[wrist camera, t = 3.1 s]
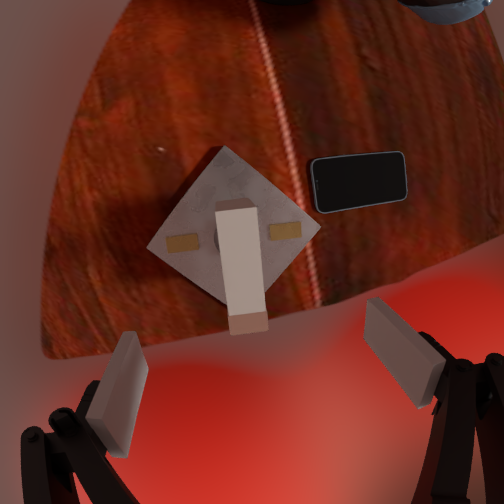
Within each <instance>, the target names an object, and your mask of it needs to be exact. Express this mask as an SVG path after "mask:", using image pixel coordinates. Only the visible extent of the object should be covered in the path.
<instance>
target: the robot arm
mask: <svg viewBox="0 0 504 504" xmlns="http://www.w3.org/2000/svg"><path fill="white" fill-rule="evenodd" d="M260 1H264V2H267V3H272V4H278V5H298V4H304V3H308V2H310V1H313V0H260ZM397 1H398V2H399V3H400V4H402V5H403V6H405V7H408V8H409V9H411V10H412V11H413V12H415V13H416V14H417V15H419V16H420V17H421V18H422V19H424V20H426V21H428V22H430V23H435V24H439V25H447V24H454V23H458V22H462V21H464V20H467V19H469V18H472V17H474V16H476V15H477V14H479V13H480V12H482V11H483V10H484V7H485V6H488V5H490V4H491V2H492V1H493V0H397ZM364 340H365V341H366V342H367V344H368V345H369V346H370V347H371V349H372V350H373V351H374V353H375V354H376V355H377V356H378V358H379V359H380V360H381V361H382V363H383V364H384V365H385V367H386V368H387V369H388V371H389V372H390V373H391V374H392V376H393V377H394V378H395V380H396V381H397V382H398V384H399V385H400V386H401V387H402V389H403V390H404V391H405V393H406V394H407V395H408V397H409V398H410V399H411V401H412V402H413V403H414V405H415V406H416V407H417V409H420V408H422V407H424V406H426V405H429V404H430V403H431V401H432V398H433V396H435V397H436V398H437V399H438V401H437V403H436V405H435V407H434V410H433V412H432V415H434V418H433V424H432V429H431V434H430V439H429V443H428V447H427V451H426V456H425V459H424V463H423V467H422V471H421V474H420V478H419V481H418V484H417V488H416V491H415V493H414V496H413V499H412V502H411V504H470V499H467V497H466V494H467V489H468V483H469V477H470V471H471V464H472V456H473V447H474V435H475V427H476V431H477V436H478V442H479V447H480V452H481V459H482V466H483V474H484V482H485V492H486V504H504V356H502V355H501V354H498V353H491V354H489V355H487V357H486V359H485V362H484V363H479V364H473V363H472V362H471V361H469V360H466V359H455V358H454V357H453V356H452V355H451V354H450V353H449V352H448V351H447V350H446V349H445V348H444V347H443V346H441V345H440V344H439V343H438V342H436V340H435V339H434V338H433V337H431V336H430V335H429V334H427V333H425V332H418V333H417V332H416V331H415V330H414V329H413V328H412V327H411V326H410V325H409V324H408V323H407V322H406V321H404V320H403V319H402V318H401V317H400V316H399V315H398V314H397V313H396V312H395V311H393V310H392V309H391V308H390V307H389V306H388V305H387V304H386V303H385V302H383V301H382V300H381V299H380V298H379V297H376V298H371V299H367V308H366V319H365V329H364ZM147 374H148V367H147V364H146V361H145V358H144V355H143V352H142V349H141V346H140V343H139V340H138V337H137V334H136V331H129V332H123V333H122V336H121V338H120V340H119V342H118V344H117V346H116V348H115V350H114V352H113V355H112V357H111V359H110V361H109V364H108V366H107V368H106V370H105V372H104V374H103V377H102V379H101V381H98V380H93V381H92V382H91V383H90V384H89V385H88V387H87V388H86V390H85V392H84V396H82V399H81V401H80V403H79V405H78V407H77V410H76V412H75V413H74V411H73V410H72V409H70V408H64V407H63V408H59V409H57V410H55V411H53V412H52V414H51V415H50V417H49V420H48V421H49V425H50V426H51V427H52V429H53V430H54V432H53V433H44V432H43V430H41V428H39V427H37V426H32V427H29V428H27V429H26V430H24V432H23V433H22V435H21V475H22V488H23V498H24V504H80V502H79V498H78V494H77V490H76V486H75V482H74V477H73V472H75V473H76V475H77V477H78V479H79V481H80V483H81V484H82V486H83V488H84V490H85V492H86V493H87V495H88V497H89V498H90V500H91V502H92V503H93V504H140V503H139V502H138V501H137V499H136V498H135V497H134V496H133V494H132V493H131V492H130V490H129V489H128V488H127V487H126V485H125V484H124V482H123V481H122V480H121V478H120V477H119V476H118V474H117V473H116V471H115V470H114V469H113V467H112V466H111V464H110V463H109V461H108V460H107V459H106V457H105V455H106V451H108V452H109V453H110V455H111V456H112V457H118V458H127V457H128V453H129V448H130V444H131V439H132V435H133V430H134V425H135V421H136V417H137V413H138V408H139V405H140V401H141V397H142V393H143V389H144V385H145V381H146V378H147Z"/></svg>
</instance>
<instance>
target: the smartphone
mask: <svg viewBox="0 0 504 504" xmlns="http://www.w3.org/2000/svg"><path fill="white" fill-rule="evenodd" d="M310 172H311V179H312V186H313V193H314V201H315V207H316V209H317V211H319V212H321V213H330V212H336V211H342V210H347V209H353V208H359V207H365V206H371V205H377V204H383V203H389V202H395V201H401V200H404V199H405V198H406V196H407V180H406V169H405V159H404V155H403V154H402V153H401V152H399V151H392V152H378V153H366V154H355V155H342V156H335V157H326V158H318V159H314V160H313V161H312V162H311V164H310Z"/></svg>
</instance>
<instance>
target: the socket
mask: <svg viewBox="0 0 504 504" xmlns="http://www.w3.org/2000/svg"><path fill="white" fill-rule="evenodd" d="M239 198H249V199H250V200H251V201H252V202H253V203H254V205H255V206H256V207H257V216H258V227H259V238H260V249H261V261H262V273H263V284H264V293H265V292H266V290H267V289H268V288H269V287H270V286H271V285H272V284H273V282H274V281H275V280H276V279H277V278H278V277H279V276H280V274H281V273H282V272H283V271H284V270H285V269H286V268H287V266H288V265H289V264H290V263H291V262H292V261H293V259H294V258H295V257H296V256H297V255H298V254H299V253H300V251H301V250H302V249H303V248H304V247H305V245H306V244H307V243H308V242H309V241H310V240H311V238H312V237H313V236H314V235H315V234H316V232H317V231H318V230H319V229H320V228H321V226H320V225H319V224H318V223H316V222H315V221H314V220H313V219H312V218H311V217H310V216H309V215H307V214H306V213H305V212H304V211H303V210H302V209H301V208H300V207H298V206H297V205H296V204H295V203H294V202H293V201H292V200H290V199H289V198H288V197H287V196H286V195H285V194H283V193H282V192H281V191H280V190H279V189H278V188H276V187H275V186H274V185H273V184H272V183H270V182H269V181H268V180H267V179H266V178H264V177H263V176H262V175H261V174H260V173H258V172H257V171H256V170H255V169H254V168H252V167H251V166H250V165H249V164H247V163H246V162H245V161H244V160H243V159H241V158H240V157H239V156H238V155H236V154H235V153H234V152H233V151H231V150H230V149H229V148H227V147H226V146H225V145H224V146H223V148H222V149H221V150H220V151H219V152H218V154H217V155H216V156H215V157H214V158H213V160H212V161H211V162H210V163H209V165H208V166H207V167H206V168H205V170H204V171H203V172H202V173H201V175H200V176H199V177H198V178H197V180H196V181H195V182H194V183H193V185H192V186H191V187H190V189H189V190H188V191H187V192H186V194H185V195H184V196H183V198H182V199H181V200H180V202H179V203H178V204H177V206H176V207H175V208H174V210H173V211H172V212H171V214H170V215H169V216H168V218H167V219H166V221H165V222H164V223H163V225H162V226H161V227H160V229H159V230H158V232H157V233H156V234H155V236H154V237H153V239H152V240H151V242H150V243H149V244H148V246H147V247H146V248H147V249H148V250H150V251H151V252H152V253H154V254H155V255H156V256H158V257H159V258H161V259H162V260H163V261H165V262H166V263H167V264H169V265H170V266H171V267H173V268H174V269H176V270H177V271H178V272H180V273H181V274H183V275H184V276H185V277H187V278H188V279H190V280H191V281H192V282H194V283H195V284H197V285H198V286H200V287H201V288H202V289H204V290H205V291H207V292H208V293H210V294H211V295H213V296H214V297H216V298H217V299H218V300H220V301H221V302H223V303H224V304H226V305H227V301H226V292H225V285H224V278H223V271H222V263H221V256H220V248H219V240H218V232H217V224H216V216H215V204H216V201H222V200H230V199H239Z"/></svg>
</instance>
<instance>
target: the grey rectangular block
mask: <svg viewBox="0 0 504 504" xmlns="http://www.w3.org/2000/svg"><path fill="white" fill-rule="evenodd" d="M215 216H216V224H217V232H218V240H219V248H220V256H221V263H222V271H223V278H224V285H225V292H226V301H227V313H228V321H229V328H230V333H231V335H238V334H247V333H254V332H261V331H268V318H267V310H266V307H265V296H264V284H263V273H262V261H261V249H260V238H259V227H258V216H257V207H256V206H255V205H254V203H253V202H252V201H251V200H250V199H249V198H239V199H230V200H222V201H216V204H215Z"/></svg>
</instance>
